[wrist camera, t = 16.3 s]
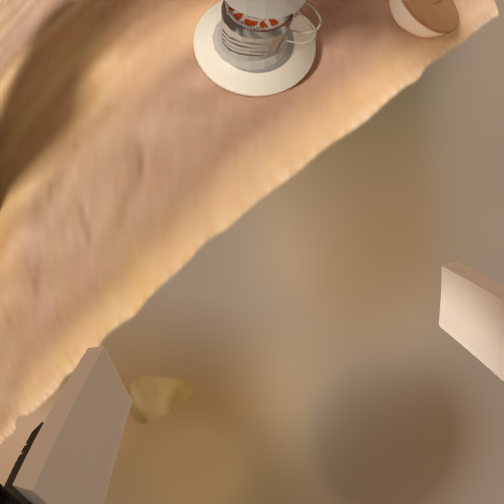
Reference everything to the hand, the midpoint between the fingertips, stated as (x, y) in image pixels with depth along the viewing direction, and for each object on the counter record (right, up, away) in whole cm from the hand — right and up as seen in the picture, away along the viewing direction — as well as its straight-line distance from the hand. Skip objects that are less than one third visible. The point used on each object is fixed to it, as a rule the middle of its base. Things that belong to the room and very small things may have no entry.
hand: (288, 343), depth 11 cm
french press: (-1, +30, +23) cm, 38 cm away
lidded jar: (+24, +41, +24) cm, 53 cm away
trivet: (-1, +31, +24) cm, 39 cm away
